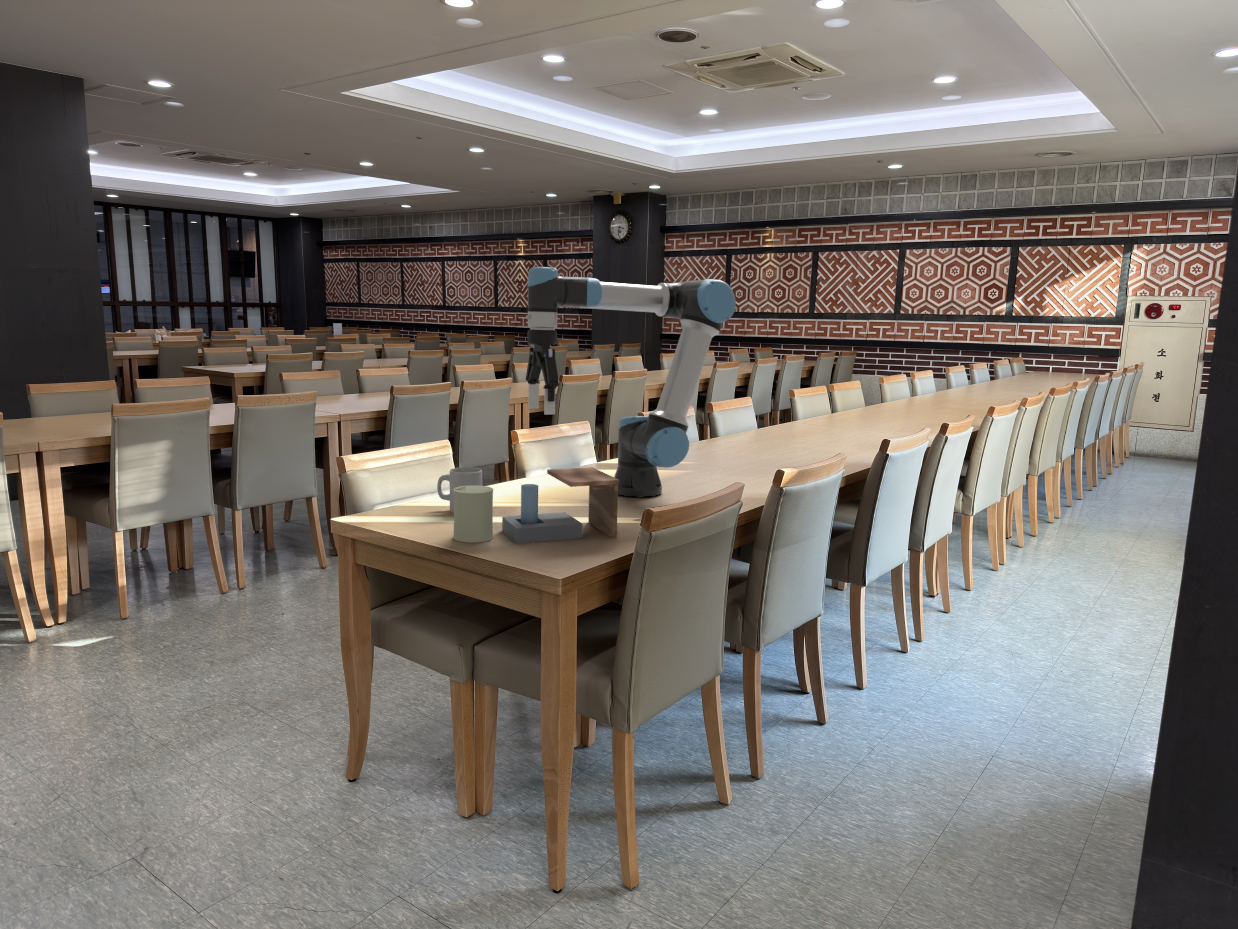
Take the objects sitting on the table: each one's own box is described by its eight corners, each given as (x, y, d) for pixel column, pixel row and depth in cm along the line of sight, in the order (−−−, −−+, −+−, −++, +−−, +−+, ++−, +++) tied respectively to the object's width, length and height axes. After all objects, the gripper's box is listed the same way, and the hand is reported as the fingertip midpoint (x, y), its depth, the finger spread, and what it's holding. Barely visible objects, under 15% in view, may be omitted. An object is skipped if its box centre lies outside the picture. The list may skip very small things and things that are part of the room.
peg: (534, 532, 198) (535, 483, 196) (539, 536, 195) (540, 486, 193) (518, 534, 197) (519, 484, 195) (523, 538, 193) (524, 487, 191)
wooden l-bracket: (591, 521, 211) (592, 467, 208) (617, 538, 195) (619, 479, 193) (546, 524, 206) (547, 469, 204) (569, 542, 191) (570, 482, 188)
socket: (565, 526, 205) (565, 512, 205) (582, 538, 195) (582, 523, 194) (502, 530, 199) (502, 516, 199) (516, 543, 188) (516, 528, 188)
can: (455, 532, 197) (455, 482, 194) (494, 532, 197) (494, 483, 195) (451, 542, 187) (450, 490, 185) (492, 543, 188) (492, 491, 186)
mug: (486, 508, 222) (486, 467, 221) (477, 515, 214) (477, 473, 212) (442, 505, 224) (442, 465, 222) (432, 512, 215) (432, 471, 213)
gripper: (514, 327, 222) (514, 406, 226) (543, 329, 199) (542, 417, 203) (541, 328, 225) (540, 406, 229) (572, 330, 202) (571, 416, 206)
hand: (541, 411), depth 216 cm, fingers open, 13 cm apart
